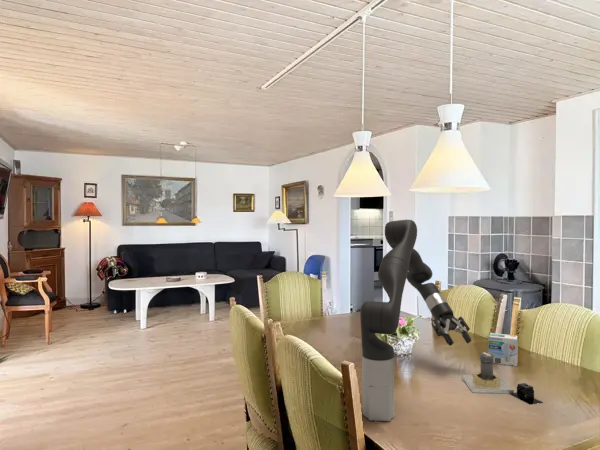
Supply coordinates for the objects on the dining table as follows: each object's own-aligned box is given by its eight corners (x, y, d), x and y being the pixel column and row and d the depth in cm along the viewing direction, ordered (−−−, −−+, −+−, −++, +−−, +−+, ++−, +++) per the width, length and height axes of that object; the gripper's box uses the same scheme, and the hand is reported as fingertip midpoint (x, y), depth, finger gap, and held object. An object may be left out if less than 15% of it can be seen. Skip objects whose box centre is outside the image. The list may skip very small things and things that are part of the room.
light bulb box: (488, 362, 173) (487, 336, 173) (489, 358, 179) (489, 332, 179) (517, 366, 168) (517, 339, 168) (518, 361, 174) (517, 335, 174)
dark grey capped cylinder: (496, 383, 147) (496, 355, 147) (485, 384, 146) (485, 356, 146) (488, 379, 151) (487, 351, 151) (477, 380, 150) (477, 352, 150)
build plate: (550, 406, 133) (550, 391, 133) (531, 409, 131) (530, 394, 131) (519, 391, 145) (519, 377, 145) (501, 393, 143) (501, 380, 143)
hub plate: (513, 393, 141) (513, 382, 141) (472, 392, 143) (472, 380, 143) (499, 379, 154) (499, 369, 154) (462, 378, 156) (462, 368, 156)
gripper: (429, 302, 164) (451, 339, 153) (457, 300, 170) (480, 335, 159) (420, 314, 169) (440, 350, 158) (448, 311, 174) (469, 346, 164)
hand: (460, 343), depth 158 cm, fingers open, 8 cm apart
